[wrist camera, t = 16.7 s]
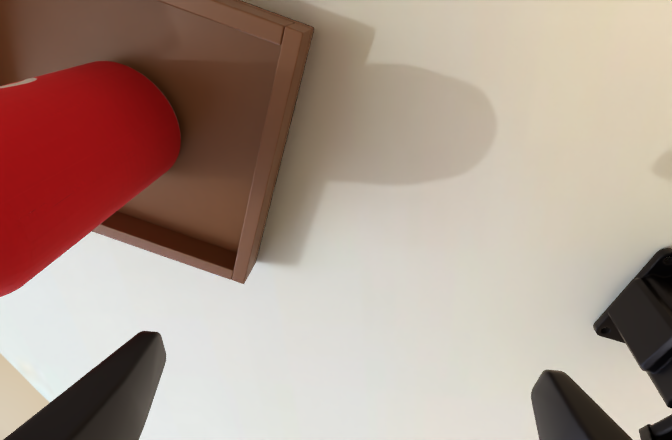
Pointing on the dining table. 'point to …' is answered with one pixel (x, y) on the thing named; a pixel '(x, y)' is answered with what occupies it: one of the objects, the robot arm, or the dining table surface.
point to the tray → (183, 109)
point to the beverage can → (75, 158)
